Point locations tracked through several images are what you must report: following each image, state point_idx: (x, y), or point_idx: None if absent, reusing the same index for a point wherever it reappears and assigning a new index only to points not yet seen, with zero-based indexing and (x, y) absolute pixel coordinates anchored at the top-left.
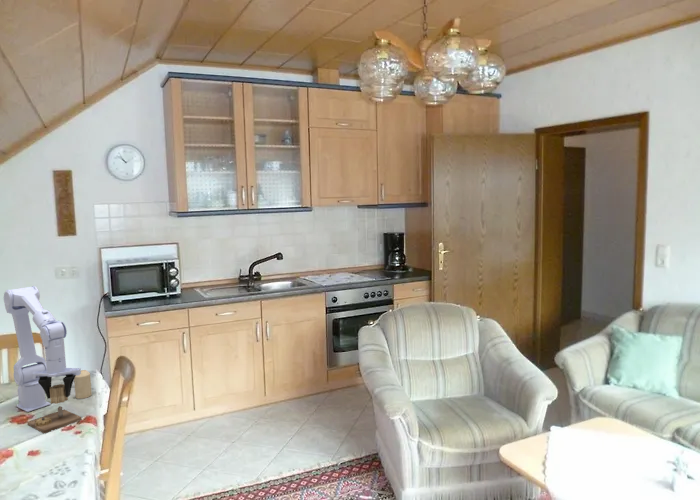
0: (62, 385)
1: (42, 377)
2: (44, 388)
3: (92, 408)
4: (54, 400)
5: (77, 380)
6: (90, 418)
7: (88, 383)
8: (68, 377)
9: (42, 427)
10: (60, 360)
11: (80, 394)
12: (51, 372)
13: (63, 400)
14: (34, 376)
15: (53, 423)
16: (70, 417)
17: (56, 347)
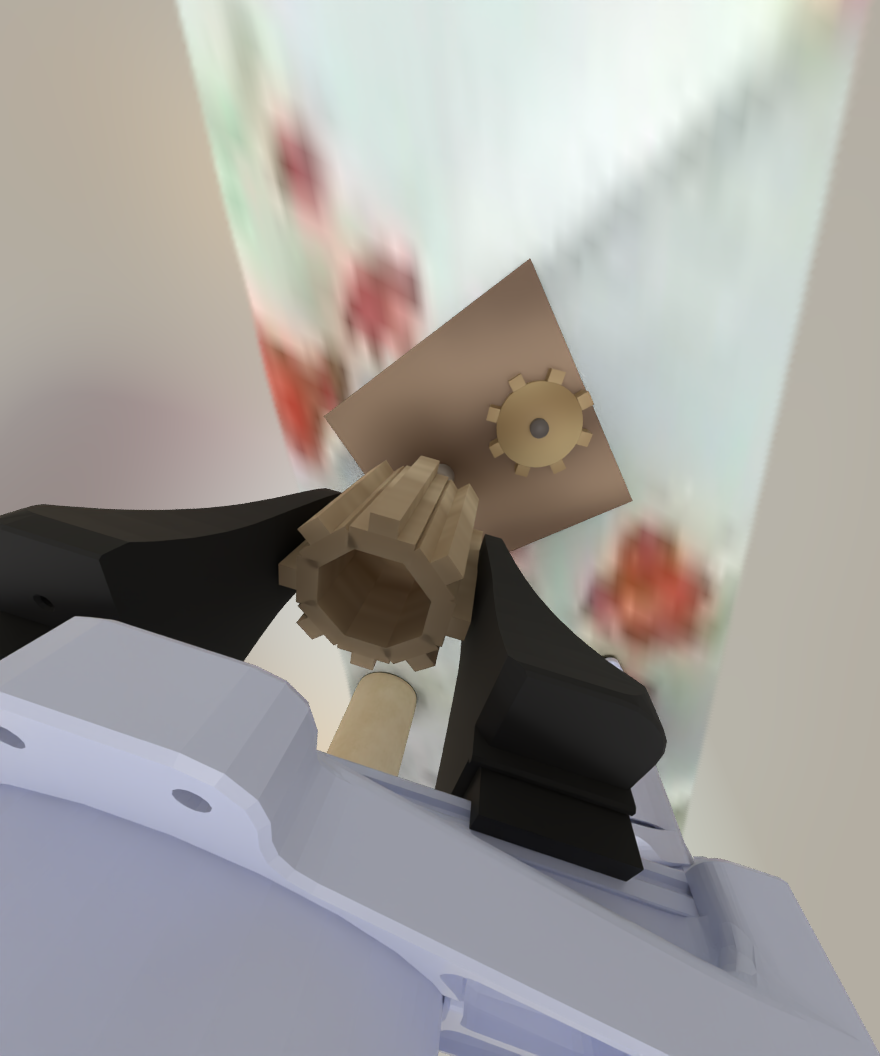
0: (335, 620)
1: (569, 829)
2: (528, 598)
3: None
4: (440, 484)
5: None
6: (289, 412)
7: (336, 736)
8: (25, 580)
9: (542, 340)
10: None
11: (387, 692)
12: (138, 942)
13: (369, 471)
14: (787, 958)
15: (474, 387)
16: (386, 442)
17: None
